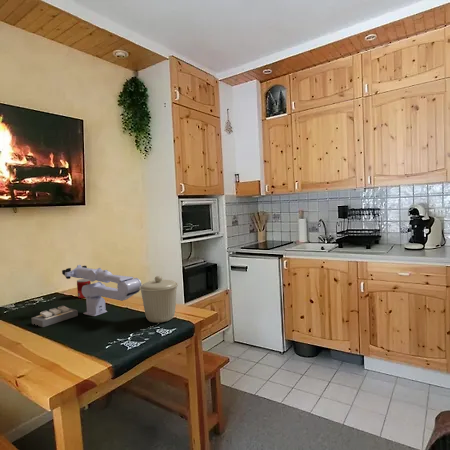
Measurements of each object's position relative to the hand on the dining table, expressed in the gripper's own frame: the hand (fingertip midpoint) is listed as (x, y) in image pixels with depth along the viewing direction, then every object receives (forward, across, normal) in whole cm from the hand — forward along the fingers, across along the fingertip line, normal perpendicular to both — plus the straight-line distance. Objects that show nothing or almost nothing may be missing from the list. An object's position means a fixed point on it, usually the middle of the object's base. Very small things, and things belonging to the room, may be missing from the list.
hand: (69, 271), depth 185 cm
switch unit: (-10, +15, +21) cm, 28 cm away
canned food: (+15, -20, +21) cm, 32 cm away
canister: (-60, -8, +20) cm, 64 cm away
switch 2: (-10, +15, +17) cm, 25 cm away
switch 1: (-10, +20, +18) cm, 28 cm away
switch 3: (-10, +11, +17) cm, 23 cm away
